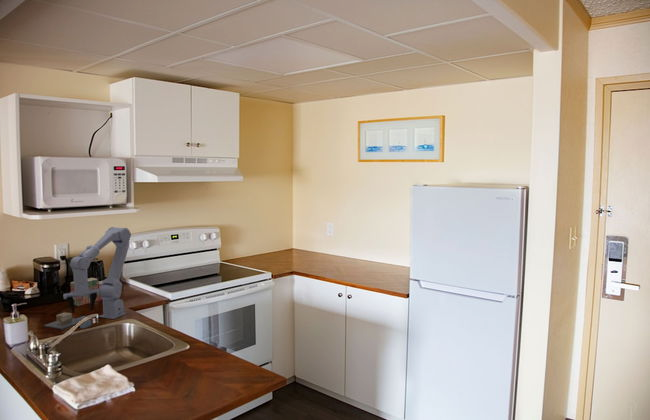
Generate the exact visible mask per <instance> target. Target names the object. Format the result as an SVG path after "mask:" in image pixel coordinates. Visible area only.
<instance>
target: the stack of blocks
mask: <svg viewBox="0 0 650 420" xmlns="http://www.w3.org/2000/svg"><path fill="white" fill-rule="evenodd" d="M103 281H104V280H101V281H99V278H95V277H90V278H88V290H91V289H99V287H100V286H101V285H102V282H103ZM69 285H70V287H69V289H70V293H71V292H74V281H71V282H70V283H69ZM112 285H113V284H112ZM73 300H74V306H76V307H79V306H82V305H84V306H85V305H86V304H87V305H88V304H90V295H85V296H78V297H73ZM99 301H103V299H102V298H101V296H100V295H99V294H97V298H96V300H95V303H96V302H99Z"/></svg>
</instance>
